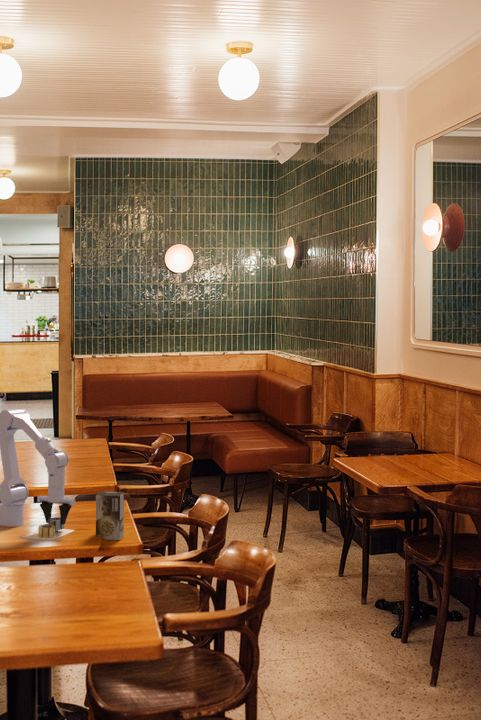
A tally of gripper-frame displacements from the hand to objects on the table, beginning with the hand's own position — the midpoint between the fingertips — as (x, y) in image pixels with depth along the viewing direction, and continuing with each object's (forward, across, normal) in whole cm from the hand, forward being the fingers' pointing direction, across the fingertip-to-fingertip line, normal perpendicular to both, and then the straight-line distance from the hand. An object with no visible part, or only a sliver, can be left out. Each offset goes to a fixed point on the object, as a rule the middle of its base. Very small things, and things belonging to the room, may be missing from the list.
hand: (55, 523), depth 294 cm
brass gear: (+3, 0, +6) cm, 7 cm away
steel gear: (+2, 0, 0) cm, 2 cm away
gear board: (+4, +1, +3) cm, 5 cm away
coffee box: (+5, -19, -5) cm, 20 cm away
